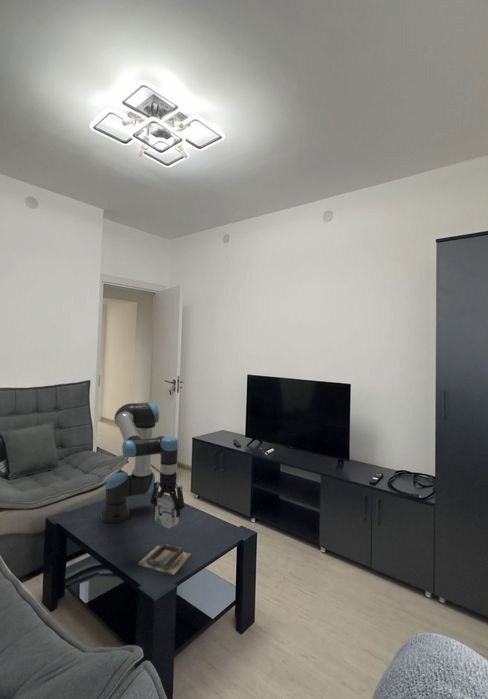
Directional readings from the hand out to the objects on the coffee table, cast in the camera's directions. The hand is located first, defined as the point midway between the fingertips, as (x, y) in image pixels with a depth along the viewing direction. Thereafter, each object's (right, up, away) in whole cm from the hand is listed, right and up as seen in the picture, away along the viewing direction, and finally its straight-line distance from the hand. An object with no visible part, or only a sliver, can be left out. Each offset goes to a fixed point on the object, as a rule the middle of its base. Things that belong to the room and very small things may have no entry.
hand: (166, 521), depth 157 cm
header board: (-1, -18, 0) cm, 18 cm away
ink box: (0, -1, 0) cm, 1 cm away
